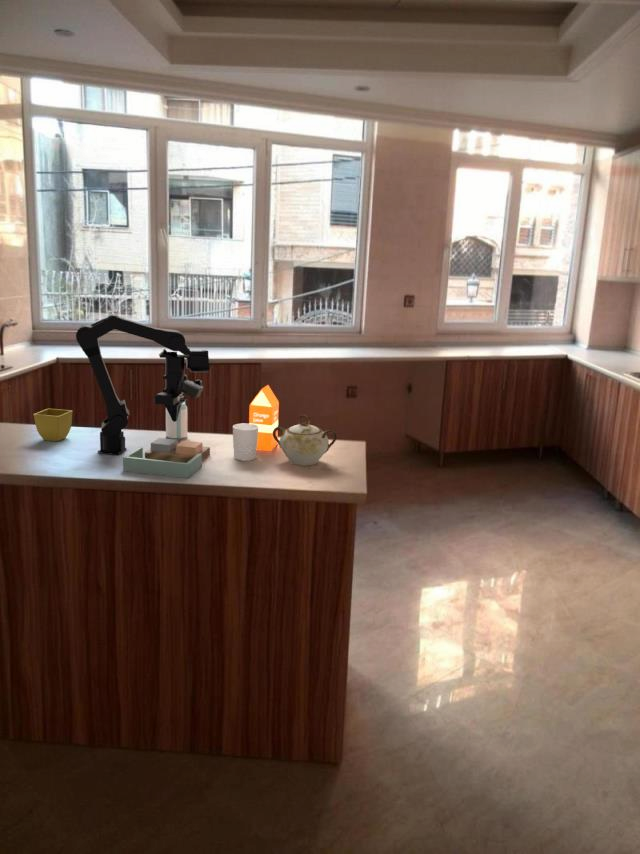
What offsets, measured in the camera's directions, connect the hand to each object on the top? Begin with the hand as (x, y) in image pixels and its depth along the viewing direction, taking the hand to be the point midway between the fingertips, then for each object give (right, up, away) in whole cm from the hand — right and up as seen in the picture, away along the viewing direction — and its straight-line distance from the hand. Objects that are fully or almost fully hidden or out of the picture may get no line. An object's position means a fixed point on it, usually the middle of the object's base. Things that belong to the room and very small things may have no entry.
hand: (174, 421), depth 207 cm
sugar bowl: (+40, -13, -3) cm, 42 cm away
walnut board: (+2, -11, -5) cm, 13 cm away
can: (-3, -5, +16) cm, 17 cm away
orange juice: (+27, -8, +11) cm, 30 cm away
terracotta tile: (+6, -9, -8) cm, 13 cm away
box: (0, -14, -16) cm, 21 cm away
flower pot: (-40, -6, +6) cm, 41 cm away
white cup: (+22, -11, -2) cm, 25 cm away
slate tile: (-2, -9, -6) cm, 11 cm away
